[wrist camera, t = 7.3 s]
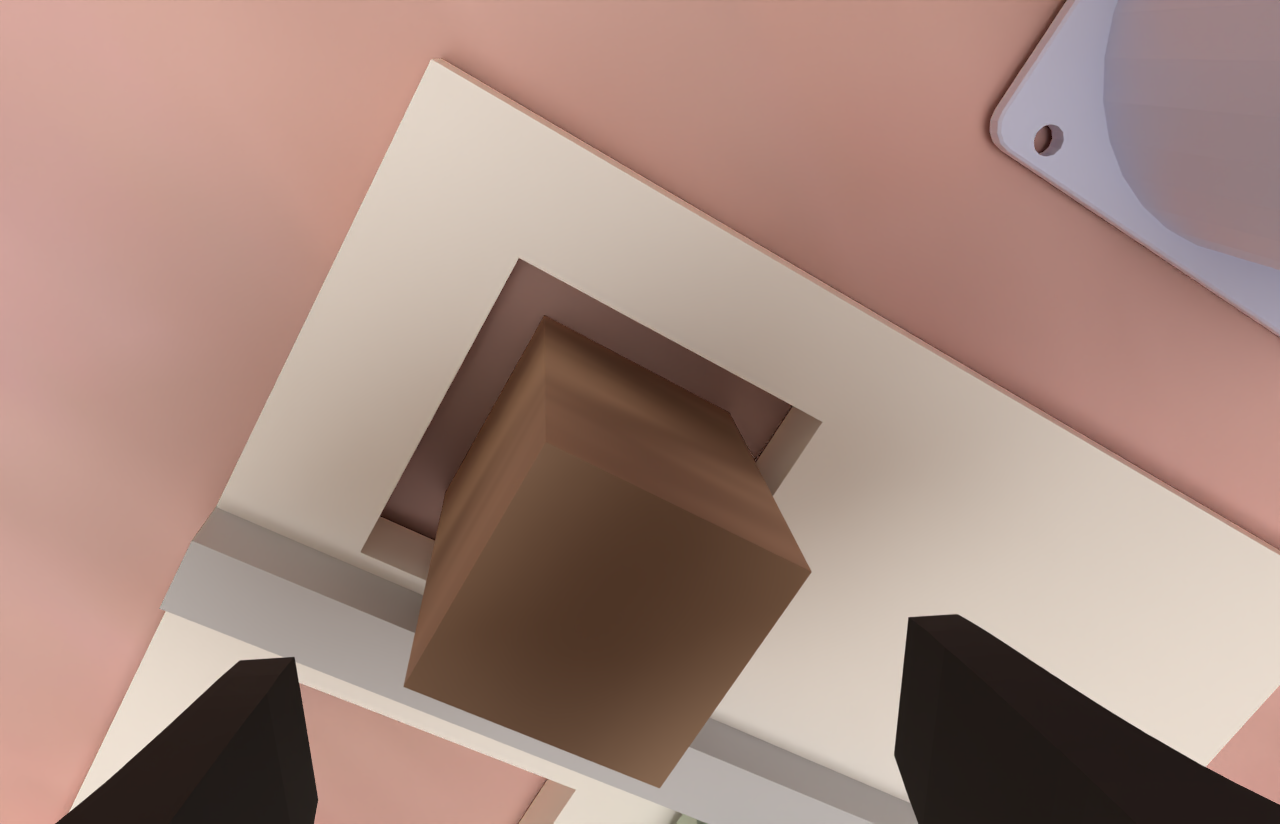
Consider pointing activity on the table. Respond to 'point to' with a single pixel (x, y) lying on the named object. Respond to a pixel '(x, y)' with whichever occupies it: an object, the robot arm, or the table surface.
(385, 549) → the puzzle board
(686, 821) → the sliding cover
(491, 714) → the walnut block
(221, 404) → the table surface
